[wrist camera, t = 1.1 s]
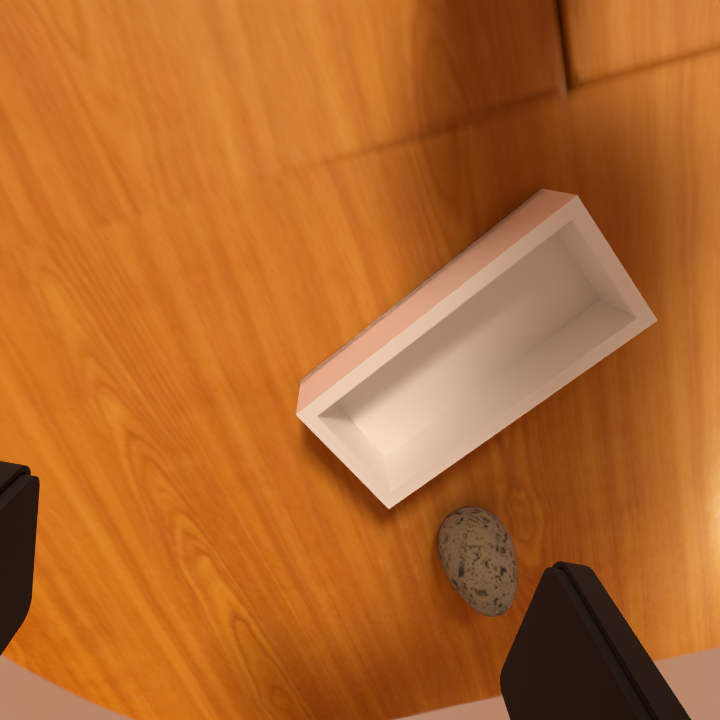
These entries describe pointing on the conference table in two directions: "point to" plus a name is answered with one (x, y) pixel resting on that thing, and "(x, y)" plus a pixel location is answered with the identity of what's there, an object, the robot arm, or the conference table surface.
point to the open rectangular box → (474, 347)
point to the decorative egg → (479, 559)
